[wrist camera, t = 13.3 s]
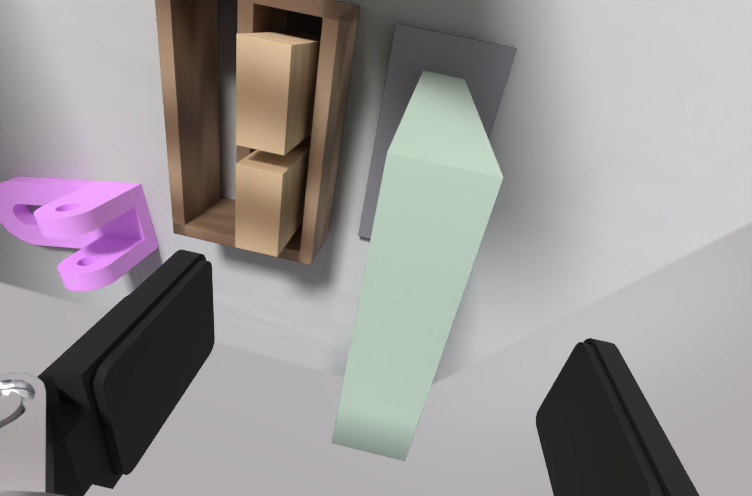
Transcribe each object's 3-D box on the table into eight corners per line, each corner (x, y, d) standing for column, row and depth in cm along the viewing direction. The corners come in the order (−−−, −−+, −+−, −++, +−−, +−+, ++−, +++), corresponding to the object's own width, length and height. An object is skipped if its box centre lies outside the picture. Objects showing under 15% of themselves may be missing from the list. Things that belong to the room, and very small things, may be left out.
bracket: (142, 183, 32) (70, 220, 26) (159, 246, 34) (99, 293, 28) (-5, 174, 33) (-105, 207, 27) (23, 235, 36) (-62, 277, 30)
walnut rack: (204, -26, 24) (152, -37, 20) (359, 5, 24) (341, 1, 19) (211, 204, 31) (173, 233, 27) (329, 231, 31) (310, 264, 27)
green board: (423, 70, 24) (387, 152, 9) (464, 79, 24) (503, 177, 9) (391, 219, 29) (331, 443, 14) (425, 227, 29) (404, 460, 14)
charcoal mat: (396, 23, 24) (395, 23, 23) (514, 47, 24) (516, 48, 23) (359, 232, 31) (358, 235, 30) (450, 253, 31) (450, 256, 30)
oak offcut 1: (294, 31, 25) (236, 33, 18) (333, 39, 25) (291, 45, 18) (288, 114, 27) (235, 144, 20) (324, 122, 27) (284, 155, 20)
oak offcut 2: (287, 129, 28) (235, 163, 21) (323, 137, 28) (282, 174, 21) (282, 196, 30) (235, 247, 23) (315, 203, 30) (277, 256, 23)
